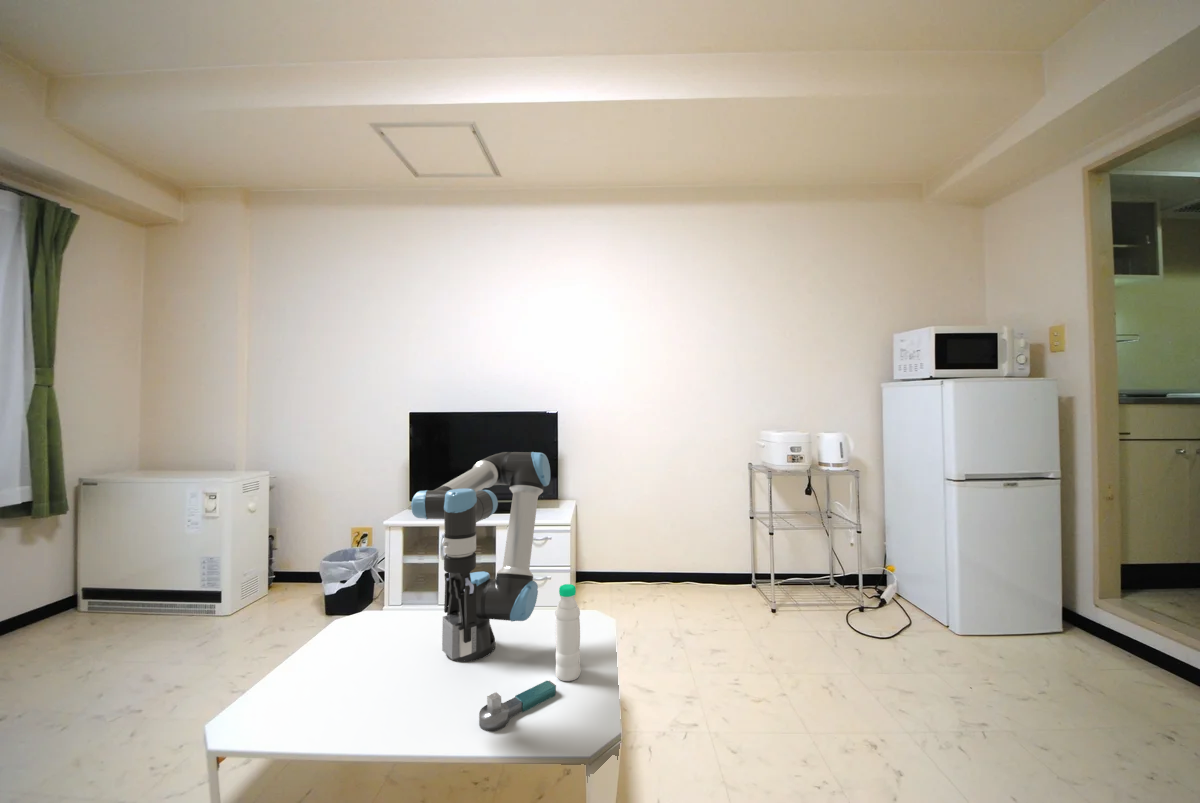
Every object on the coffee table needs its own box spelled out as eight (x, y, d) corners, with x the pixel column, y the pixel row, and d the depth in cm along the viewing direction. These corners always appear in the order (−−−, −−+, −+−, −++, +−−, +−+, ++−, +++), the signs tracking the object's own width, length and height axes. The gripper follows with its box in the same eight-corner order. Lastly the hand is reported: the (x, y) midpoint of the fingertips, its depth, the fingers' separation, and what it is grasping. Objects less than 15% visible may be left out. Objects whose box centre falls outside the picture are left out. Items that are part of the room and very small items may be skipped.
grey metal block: (442, 650, 111) (442, 616, 111) (465, 642, 115) (465, 610, 115) (452, 659, 106) (452, 624, 107) (476, 651, 110) (476, 617, 111)
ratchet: (488, 736, 105) (488, 709, 105) (473, 721, 110) (474, 696, 110) (560, 697, 119) (560, 674, 119) (544, 686, 124) (544, 664, 124)
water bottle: (577, 683, 125) (576, 591, 126) (552, 681, 126) (551, 589, 128) (583, 669, 132) (582, 582, 133) (559, 667, 133) (559, 581, 134)
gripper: (430, 548, 116) (429, 640, 115) (461, 565, 102) (461, 671, 101) (458, 542, 121) (458, 631, 120) (492, 558, 107) (492, 659, 106)
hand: (459, 649), depth 111 cm, fingers closed on grey metal block, 6 cm apart
